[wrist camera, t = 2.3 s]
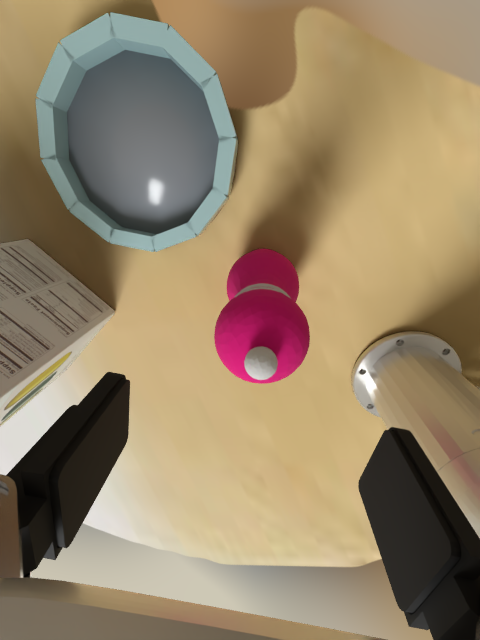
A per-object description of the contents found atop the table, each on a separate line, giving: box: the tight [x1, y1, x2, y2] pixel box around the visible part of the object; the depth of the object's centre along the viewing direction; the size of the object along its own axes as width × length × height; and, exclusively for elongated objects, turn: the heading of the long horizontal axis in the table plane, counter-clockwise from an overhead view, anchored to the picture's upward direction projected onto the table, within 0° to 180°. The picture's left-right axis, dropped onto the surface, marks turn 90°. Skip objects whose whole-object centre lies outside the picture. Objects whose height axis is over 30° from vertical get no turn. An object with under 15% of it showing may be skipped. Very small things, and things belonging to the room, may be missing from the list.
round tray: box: [35, 12, 238, 252], centre depth 27 cm, size 18×18×3 cm
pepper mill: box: [214, 249, 310, 383], centre depth 24 cm, size 7×7×20 cm
